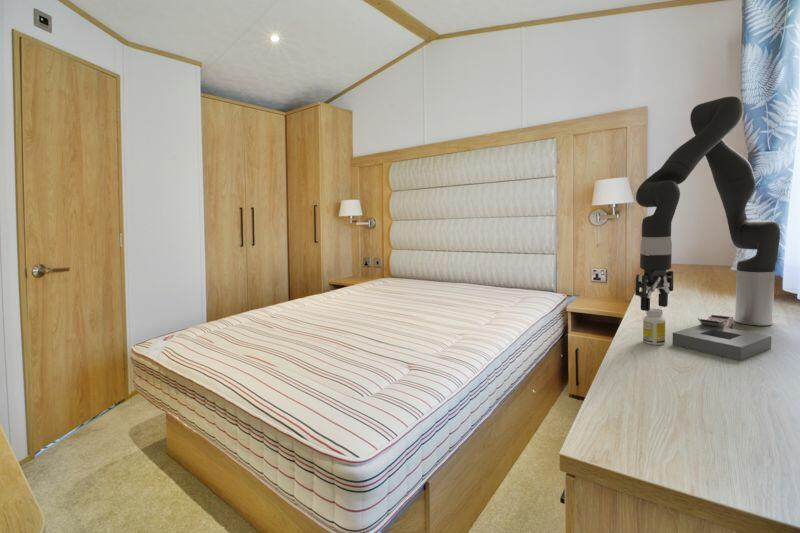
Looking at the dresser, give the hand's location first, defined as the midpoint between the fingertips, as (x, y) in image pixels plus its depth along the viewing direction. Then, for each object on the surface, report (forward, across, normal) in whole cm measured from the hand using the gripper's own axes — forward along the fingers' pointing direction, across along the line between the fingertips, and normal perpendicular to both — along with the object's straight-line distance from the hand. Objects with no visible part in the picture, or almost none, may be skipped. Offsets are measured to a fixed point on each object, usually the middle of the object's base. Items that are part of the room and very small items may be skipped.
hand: (654, 308), depth 114 cm
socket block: (+10, -10, +12) cm, 19 cm away
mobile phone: (+10, -26, +4) cm, 29 cm away
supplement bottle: (+10, 0, 0) cm, 10 cm away
